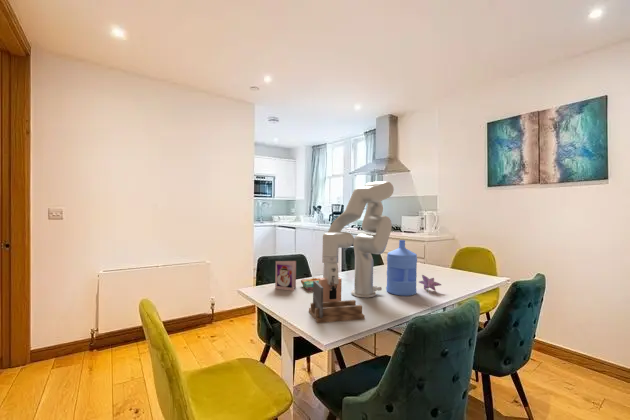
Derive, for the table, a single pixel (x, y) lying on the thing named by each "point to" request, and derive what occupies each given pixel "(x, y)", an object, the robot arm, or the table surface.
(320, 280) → the book
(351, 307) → the book rack
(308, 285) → the puzzle game
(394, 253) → the water jug
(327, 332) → the table surface
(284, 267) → the greeting card
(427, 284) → the lily
